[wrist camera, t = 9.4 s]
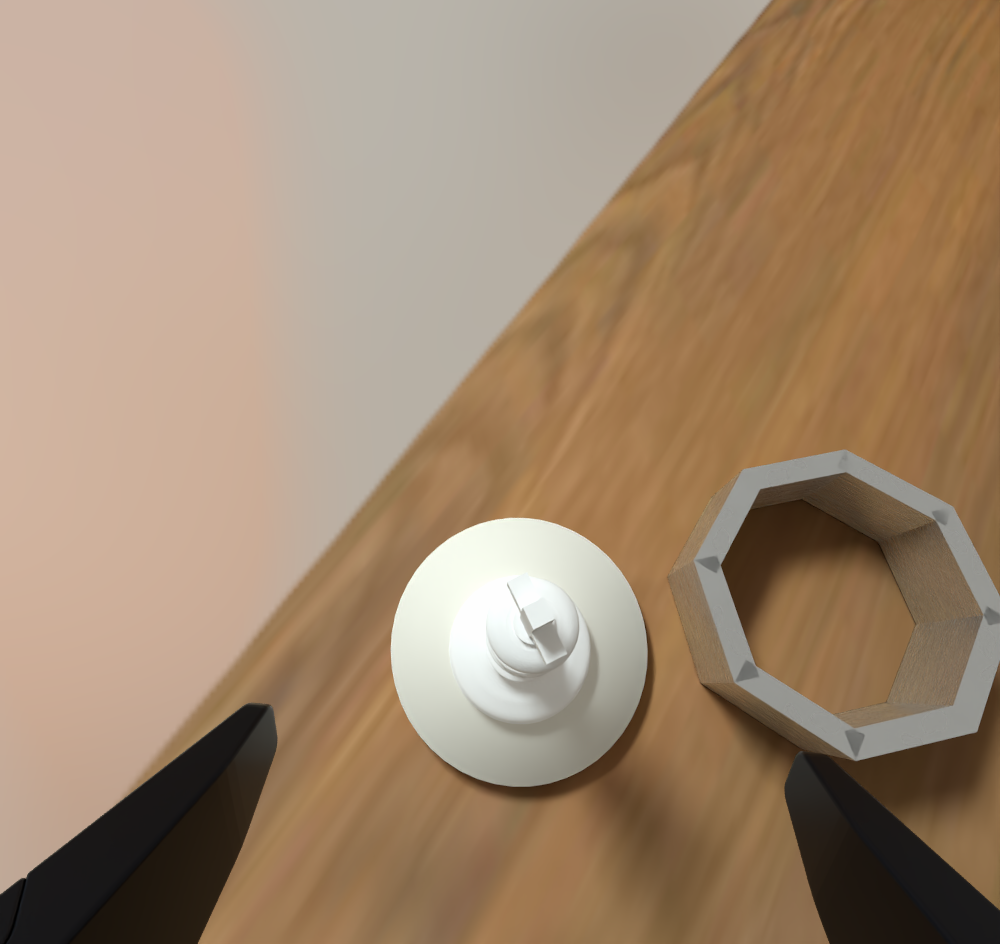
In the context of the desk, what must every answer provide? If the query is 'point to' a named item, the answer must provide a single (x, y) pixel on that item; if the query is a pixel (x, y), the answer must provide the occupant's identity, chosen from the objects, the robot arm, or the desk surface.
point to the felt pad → (436, 695)
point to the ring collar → (919, 574)
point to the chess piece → (520, 649)
